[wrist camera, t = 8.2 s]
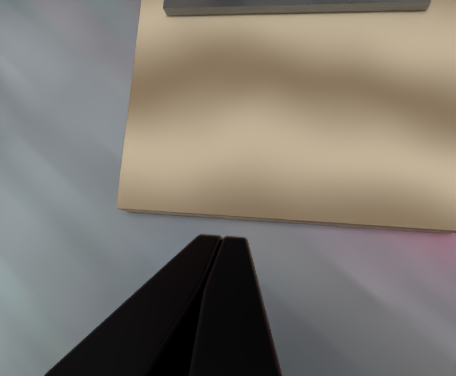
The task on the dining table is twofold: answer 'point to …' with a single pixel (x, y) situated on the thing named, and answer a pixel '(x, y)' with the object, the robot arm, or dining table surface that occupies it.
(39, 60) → the dining table surface
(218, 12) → the bookend
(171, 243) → the dining table surface
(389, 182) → the book shelf
